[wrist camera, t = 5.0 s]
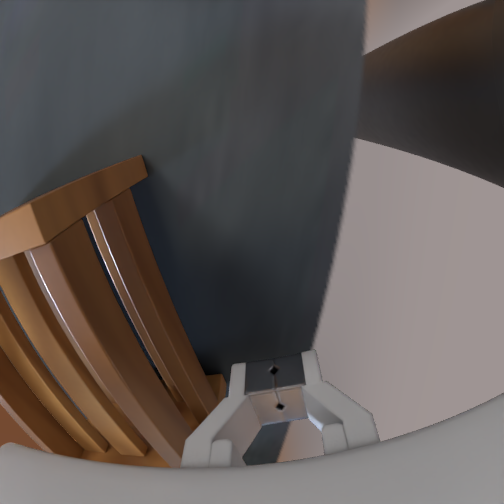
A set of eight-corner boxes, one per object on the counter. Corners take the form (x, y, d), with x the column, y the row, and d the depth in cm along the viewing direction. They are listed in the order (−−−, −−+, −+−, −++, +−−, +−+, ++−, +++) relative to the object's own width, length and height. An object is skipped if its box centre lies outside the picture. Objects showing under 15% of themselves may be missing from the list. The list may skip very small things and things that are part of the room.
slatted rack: (141, 154, 15) (29, 202, 7) (227, 384, 21) (214, 497, 13) (15, 208, 16) (-84, 269, 8) (111, 392, 22) (74, 481, 14)
